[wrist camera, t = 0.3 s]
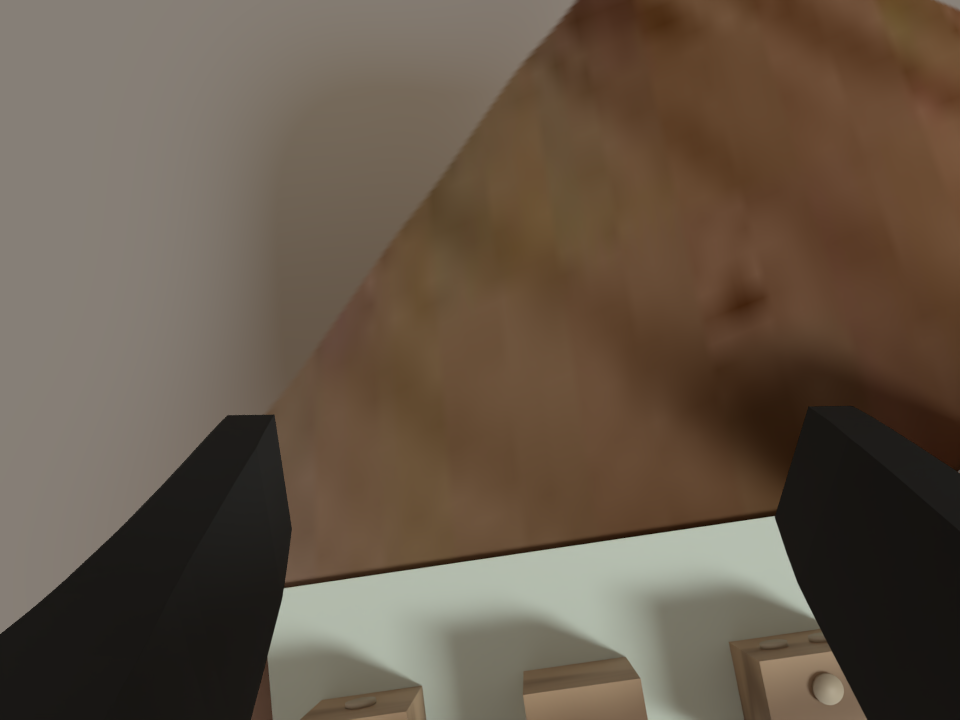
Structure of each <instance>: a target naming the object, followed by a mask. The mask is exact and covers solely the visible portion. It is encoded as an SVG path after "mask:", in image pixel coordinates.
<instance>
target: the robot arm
mask: <svg viewBox="0 0 960 720" xmlns="http://www.w3.org/2000/svg"><path fill="white" fill-rule="evenodd" d="M775 520H776V523H777V526H778V529H779V532H780V535H781V538H782V541H783V544H784V547H785V550H786V553H787V556H788V559H789V561H790V564H791V567H792V569H793V572H794V575H795V578H796V580H797V583H798V585H799V587H800V589H801V591H802V593H803V595H804V597H805V599H806V602H807V603H808V605H809V607H810V609H811V611H812V613H813V615H814V617H815V619H816V621H817V623H818V625H819V627H820V629H821V631H822V633H823V635H824V637H825V639H826V641H827V643H828V645H829V647H830V649H831V651H832V653H833V655H834V656H835V658H836V660H837V662H838V664H839V666H840V668H841V670H842V672H843V674H844V676H845V678H846V680H847V682H848V684H849V685H850V687H851V689H852V691H853V693H854V695H855V697H856V699H857V701H858V703H859V705H860V707H861V709H862V711H863V713H864V714H865V716H866V718H867V720H960V473H959V472H957V471H955V470H954V469H952V468H951V467H949V466H948V465H946V464H945V463H943V462H942V461H940V460H939V459H937V458H935V457H934V456H932V455H931V454H929V453H928V452H926V451H925V450H923V449H922V448H920V447H919V446H917V445H916V444H914V443H912V442H911V441H909V440H908V439H906V438H905V437H903V436H902V435H900V434H898V433H897V432H895V431H894V430H892V429H891V428H889V427H887V426H886V425H884V424H883V423H881V422H879V421H878V420H876V419H874V418H873V417H871V416H869V415H868V414H866V413H864V412H862V411H860V410H859V409H857V408H855V407H853V406H819V407H808V410H807V414H806V417H805V420H804V423H803V427H802V430H801V433H800V436H799V440H798V443H797V446H796V450H795V453H794V456H793V459H792V463H791V466H790V469H789V472H788V476H787V479H786V482H785V486H784V489H783V492H782V495H781V499H780V502H779V505H778V509H777V512H776V515H775ZM291 531H292V527H291V521H290V514H289V507H288V501H287V494H286V488H285V481H284V475H283V468H282V462H281V455H280V448H279V442H278V435H277V429H276V422H275V416H274V415H228V416H227V417H225V419H223V420H222V421H221V422H220V423H219V424H218V425H217V426H216V428H215V429H214V430H213V431H212V432H211V433H210V434H209V435H208V436H207V437H206V438H205V439H204V441H203V442H202V443H201V444H200V445H199V446H198V447H197V448H196V449H195V450H194V451H193V452H192V454H191V455H190V456H189V457H188V458H187V459H186V460H185V461H184V462H183V463H182V465H181V466H180V467H179V468H178V469H177V470H176V471H175V472H174V473H173V474H172V475H171V476H170V477H169V478H168V480H167V481H166V482H165V483H164V484H163V485H162V486H161V487H160V488H159V489H158V490H157V491H156V492H155V493H154V494H153V495H152V496H151V497H150V498H149V499H148V500H147V501H146V503H144V504H143V505H142V506H141V508H140V509H139V510H138V511H137V512H136V513H135V514H134V515H133V516H132V517H131V518H130V519H129V520H128V521H127V522H126V523H125V524H124V525H123V526H122V527H121V528H120V529H119V530H118V531H117V532H116V533H115V534H114V535H113V536H112V537H111V538H110V539H109V540H108V541H106V542H105V543H104V544H103V545H102V546H101V547H100V548H99V549H98V550H97V551H96V552H95V553H93V555H91V556H90V557H89V558H88V559H87V560H86V561H85V562H84V563H83V564H82V565H81V566H80V567H79V568H77V569H76V570H75V572H73V573H72V574H71V575H70V576H69V577H68V578H67V579H66V580H65V581H63V582H62V583H61V584H60V585H59V586H58V587H57V588H56V589H55V590H53V591H52V592H51V593H50V594H49V595H48V596H46V597H45V598H44V599H43V600H42V601H41V602H39V603H38V604H37V605H36V606H35V607H33V608H32V609H31V610H30V611H29V612H27V613H26V614H25V615H24V616H22V617H21V618H20V619H19V620H18V621H16V622H15V623H14V624H12V625H11V626H10V627H9V628H7V629H6V630H5V631H4V632H2V633H1V634H0V720H251V717H252V713H253V709H254V705H255V701H256V698H257V694H258V690H259V686H260V683H261V679H262V675H263V671H264V667H265V664H266V660H267V656H268V652H269V648H270V645H271V641H272V637H273V633H274V629H275V625H276V621H277V618H278V614H279V610H280V606H281V602H282V597H283V590H284V583H285V577H286V570H287V562H288V554H289V546H290V539H291Z"/></svg>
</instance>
